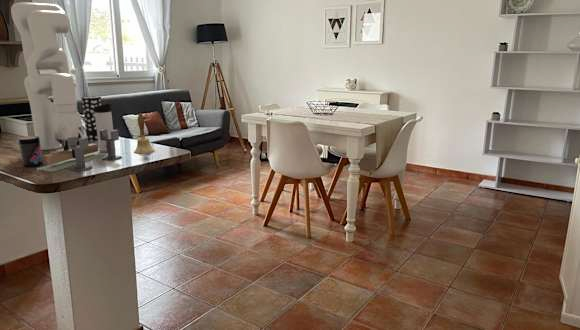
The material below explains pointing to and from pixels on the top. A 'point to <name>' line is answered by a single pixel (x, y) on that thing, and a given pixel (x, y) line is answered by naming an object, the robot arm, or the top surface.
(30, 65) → the robot arm
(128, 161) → the top surface
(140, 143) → the hand bell
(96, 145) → the rail
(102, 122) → the travel mug
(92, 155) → the mat
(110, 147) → the rack
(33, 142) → the supplement container
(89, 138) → the white-spotted black cylinder
